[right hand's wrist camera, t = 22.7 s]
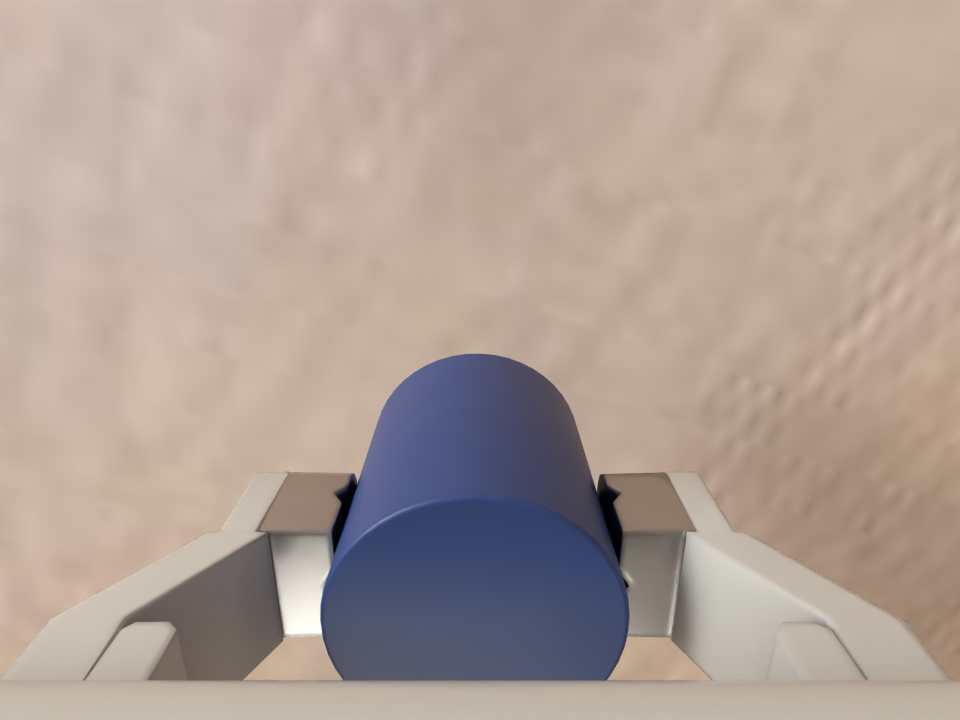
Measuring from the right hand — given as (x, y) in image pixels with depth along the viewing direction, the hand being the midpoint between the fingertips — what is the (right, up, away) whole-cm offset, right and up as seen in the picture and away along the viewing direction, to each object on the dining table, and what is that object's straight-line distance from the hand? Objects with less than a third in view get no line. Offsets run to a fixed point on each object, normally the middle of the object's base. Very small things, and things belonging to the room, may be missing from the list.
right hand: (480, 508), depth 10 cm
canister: (0, +1, +2) cm, 2 cm away
